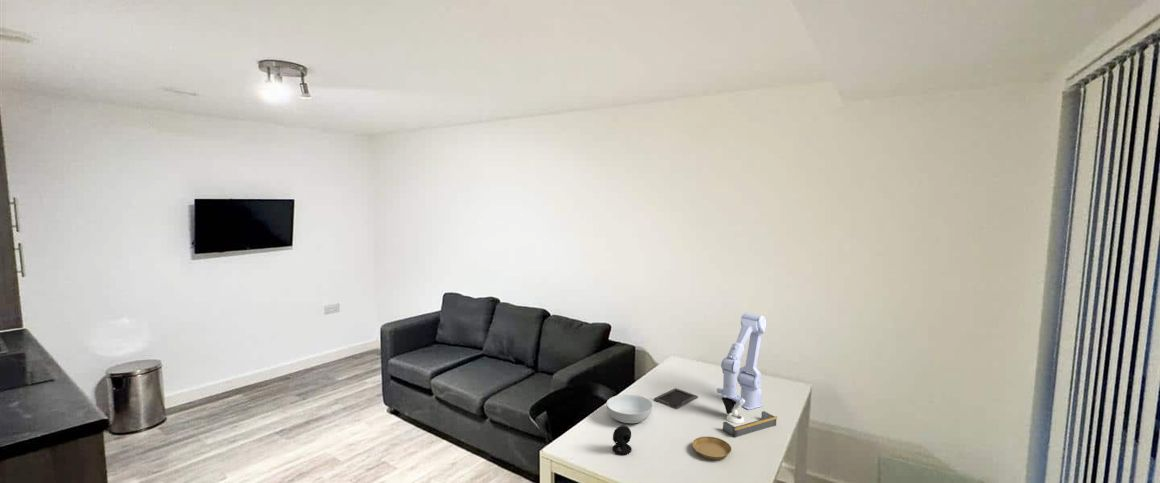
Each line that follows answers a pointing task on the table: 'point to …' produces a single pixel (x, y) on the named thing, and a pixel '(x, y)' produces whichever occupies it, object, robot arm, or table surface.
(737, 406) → the hook
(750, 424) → the tray
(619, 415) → the serving bowl
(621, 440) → the webcam
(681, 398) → the picture frame
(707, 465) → the table surface
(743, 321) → the robot arm
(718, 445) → the plant saucer
